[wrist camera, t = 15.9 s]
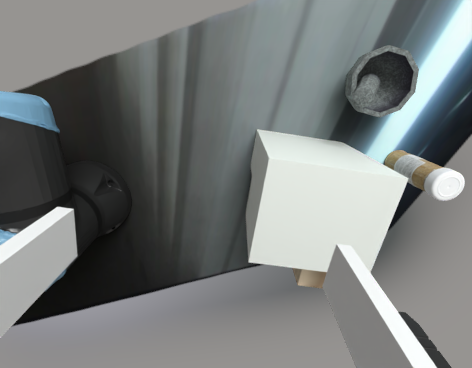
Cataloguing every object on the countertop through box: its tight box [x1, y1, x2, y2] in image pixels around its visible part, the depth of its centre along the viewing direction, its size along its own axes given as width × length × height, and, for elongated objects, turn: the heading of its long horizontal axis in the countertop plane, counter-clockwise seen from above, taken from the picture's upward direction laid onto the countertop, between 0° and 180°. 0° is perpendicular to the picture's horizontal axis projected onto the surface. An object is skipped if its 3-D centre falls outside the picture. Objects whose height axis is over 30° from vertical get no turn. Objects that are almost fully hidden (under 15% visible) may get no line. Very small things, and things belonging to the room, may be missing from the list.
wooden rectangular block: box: [293, 268, 327, 288], centre depth 48 cm, size 5×15×12 cm, turn 171°
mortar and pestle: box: [345, 45, 419, 117], centre depth 39 cm, size 11×9×12 cm
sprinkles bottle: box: [385, 150, 465, 201], centre depth 43 cm, size 5×5×14 cm
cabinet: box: [246, 129, 409, 272], centre depth 41 cm, size 16×14×20 cm
